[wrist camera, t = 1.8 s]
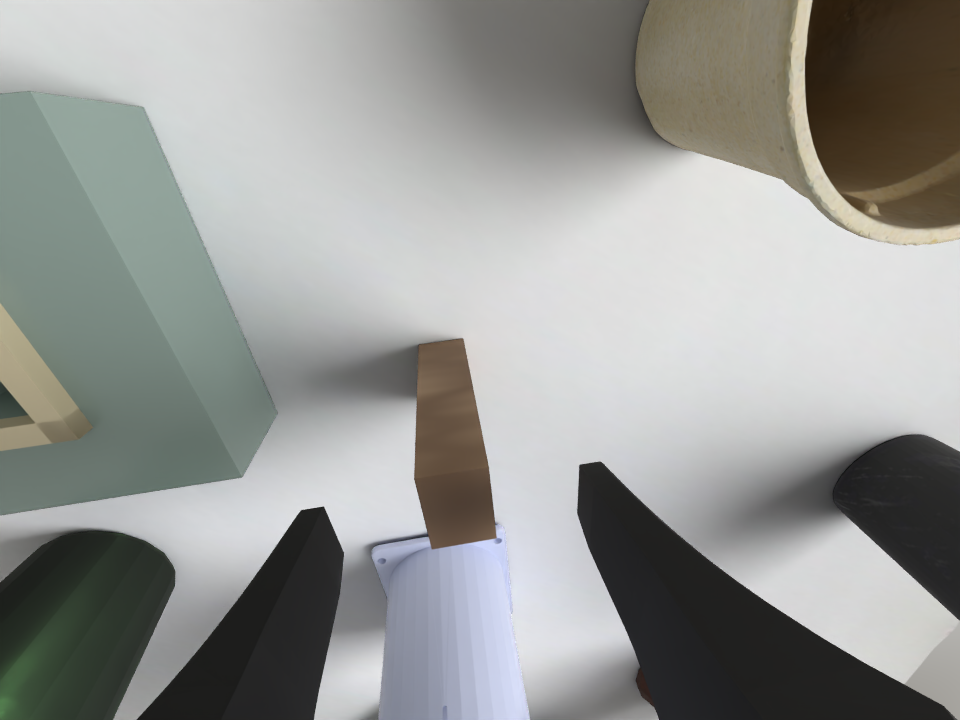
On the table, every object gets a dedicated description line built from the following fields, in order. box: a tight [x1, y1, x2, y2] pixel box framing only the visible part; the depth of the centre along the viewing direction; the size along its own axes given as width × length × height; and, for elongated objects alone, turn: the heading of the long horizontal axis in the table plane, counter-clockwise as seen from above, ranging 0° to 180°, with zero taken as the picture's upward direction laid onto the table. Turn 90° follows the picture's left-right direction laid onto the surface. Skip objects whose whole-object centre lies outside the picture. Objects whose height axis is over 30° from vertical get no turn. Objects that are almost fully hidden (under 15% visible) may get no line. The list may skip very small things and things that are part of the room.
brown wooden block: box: [414, 339, 497, 550], centre depth 15 cm, size 2×3×8 cm, turn 5°
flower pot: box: [635, 0, 960, 245], centre depth 10 cm, size 9×9×9 cm
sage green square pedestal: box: [0, 91, 278, 515], centre depth 13 cm, size 12×12×5 cm
